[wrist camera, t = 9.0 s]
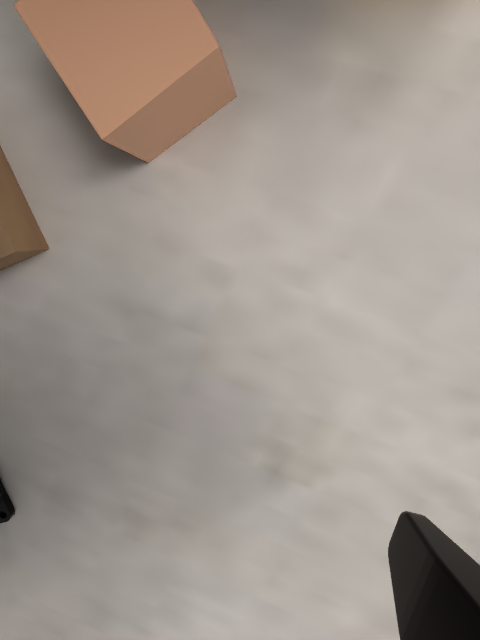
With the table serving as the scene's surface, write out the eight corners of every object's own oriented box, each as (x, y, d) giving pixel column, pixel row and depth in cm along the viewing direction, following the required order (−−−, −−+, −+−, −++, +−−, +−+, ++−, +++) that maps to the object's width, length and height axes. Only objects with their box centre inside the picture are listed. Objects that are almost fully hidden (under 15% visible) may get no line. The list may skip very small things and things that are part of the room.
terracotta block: (149, 163, 18) (101, 139, 14) (86, 66, 18) (13, 5, 13) (237, 96, 17) (219, 45, 12) (173, -9, 17) (129, -107, 12)
